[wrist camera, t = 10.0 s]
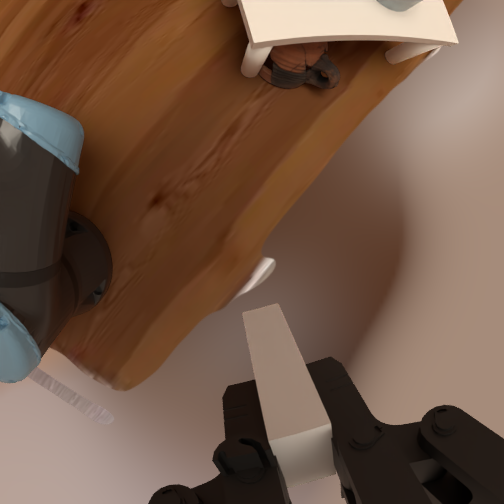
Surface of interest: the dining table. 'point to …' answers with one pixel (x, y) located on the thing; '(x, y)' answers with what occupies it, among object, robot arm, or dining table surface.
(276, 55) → the pottery mug
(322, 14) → the side counter
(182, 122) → the dining table surface
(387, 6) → the tumbler
